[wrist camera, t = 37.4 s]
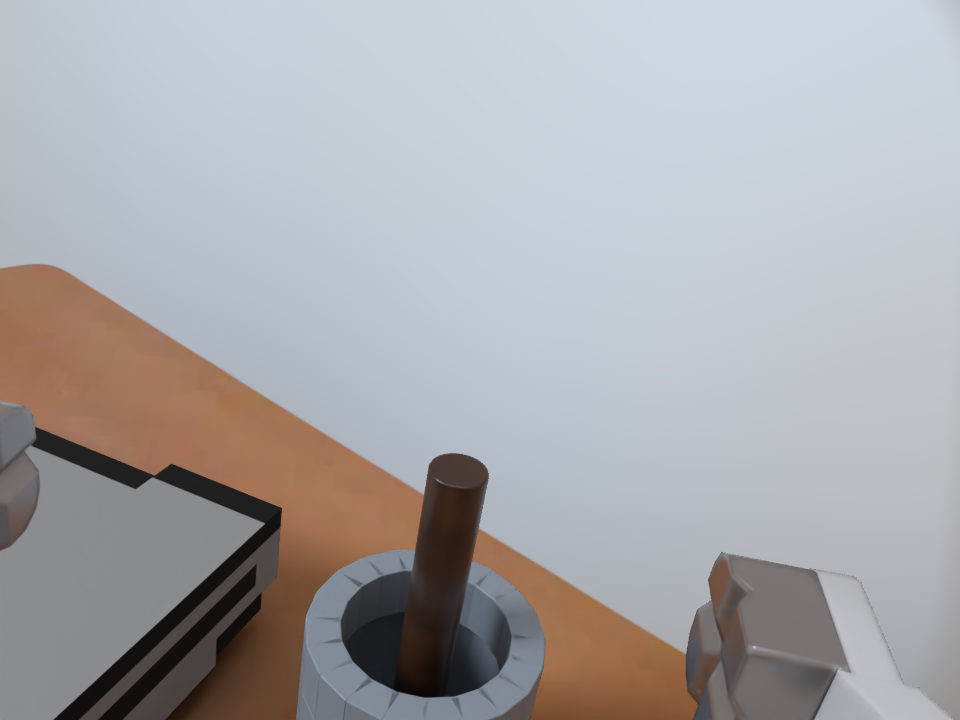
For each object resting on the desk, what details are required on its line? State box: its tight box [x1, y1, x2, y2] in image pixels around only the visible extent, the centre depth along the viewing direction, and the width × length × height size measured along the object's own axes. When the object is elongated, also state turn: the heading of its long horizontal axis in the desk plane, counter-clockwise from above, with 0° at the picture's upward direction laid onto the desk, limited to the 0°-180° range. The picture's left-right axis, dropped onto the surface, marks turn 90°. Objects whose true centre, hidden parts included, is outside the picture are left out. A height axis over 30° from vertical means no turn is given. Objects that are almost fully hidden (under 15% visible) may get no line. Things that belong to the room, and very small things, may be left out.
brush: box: [385, 453, 489, 698], centre depth 35 cm, size 3×3×18 cm
